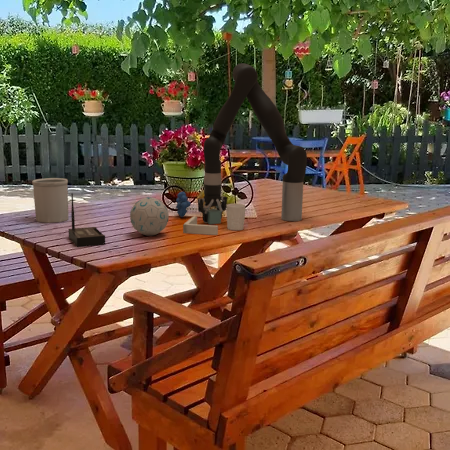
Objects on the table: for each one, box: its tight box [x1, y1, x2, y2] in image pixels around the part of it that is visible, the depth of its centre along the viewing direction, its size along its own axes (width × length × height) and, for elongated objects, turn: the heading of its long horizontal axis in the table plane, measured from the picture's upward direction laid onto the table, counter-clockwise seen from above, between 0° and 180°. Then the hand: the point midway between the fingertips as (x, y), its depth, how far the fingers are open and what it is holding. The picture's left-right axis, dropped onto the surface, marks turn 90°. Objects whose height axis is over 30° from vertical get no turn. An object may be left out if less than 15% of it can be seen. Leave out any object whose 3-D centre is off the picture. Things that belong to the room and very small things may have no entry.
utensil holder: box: [31, 177, 69, 224], centre depth 269 cm, size 15×15×18 cm
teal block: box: [204, 208, 222, 225], centre depth 269 cm, size 6×6×6 cm
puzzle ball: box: [129, 196, 170, 237], centre depth 244 cm, size 15×15×15 cm
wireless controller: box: [68, 192, 106, 248], centre depth 235 cm, size 20×14×17 cm
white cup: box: [226, 203, 246, 231], centre depth 257 cm, size 8×8×10 cm
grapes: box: [175, 191, 192, 218], centre depth 279 cm, size 12×7×12 cm, turn 20°
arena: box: [182, 215, 219, 236], centre depth 256 cm, size 17×14×4 cm
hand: (212, 220), depth 269 cm, fingers open, 6 cm apart
